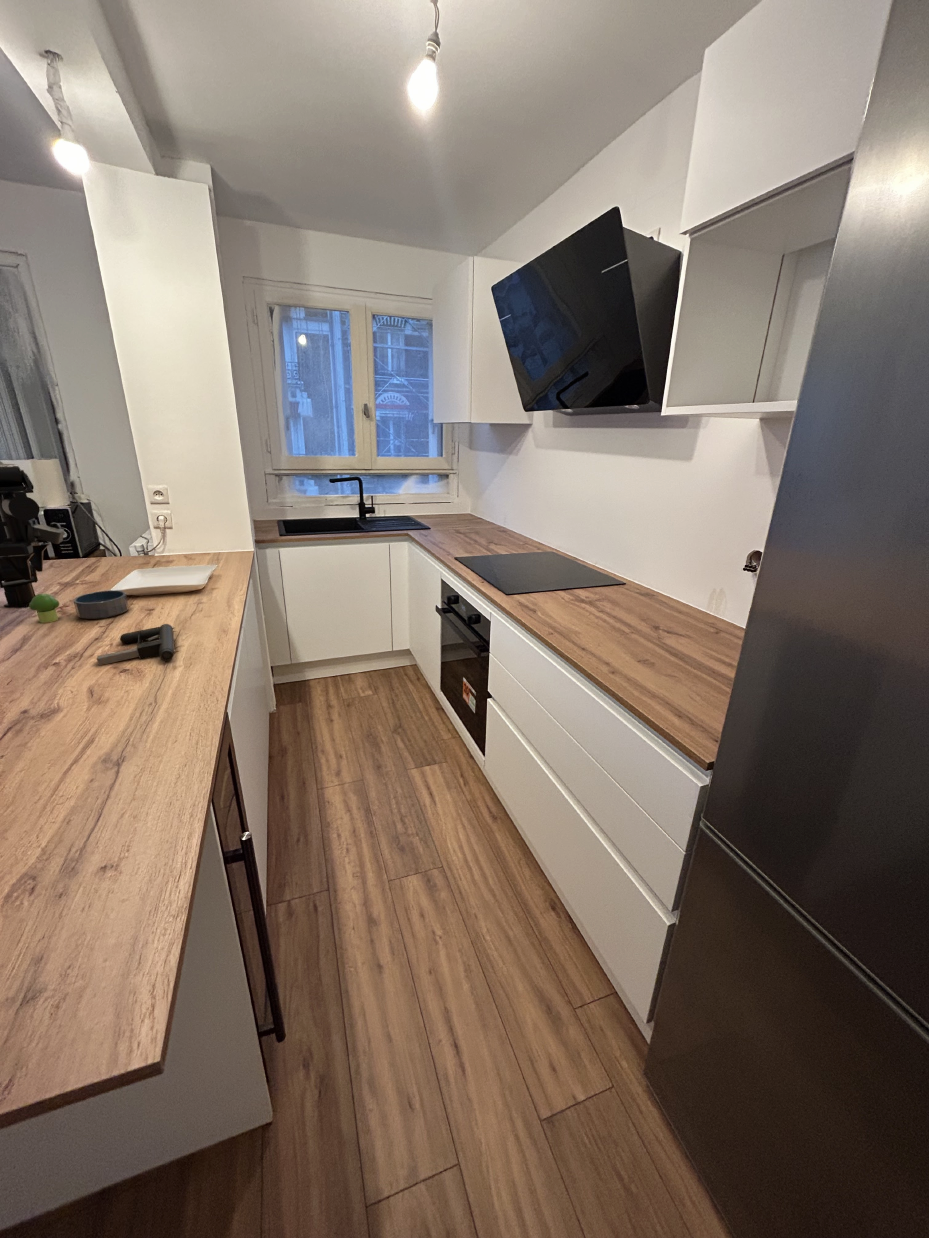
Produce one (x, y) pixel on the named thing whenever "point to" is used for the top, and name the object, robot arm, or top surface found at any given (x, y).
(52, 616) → the broccoli
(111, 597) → the bowl
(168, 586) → the square plate
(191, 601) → the top surface
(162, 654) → the door handle
